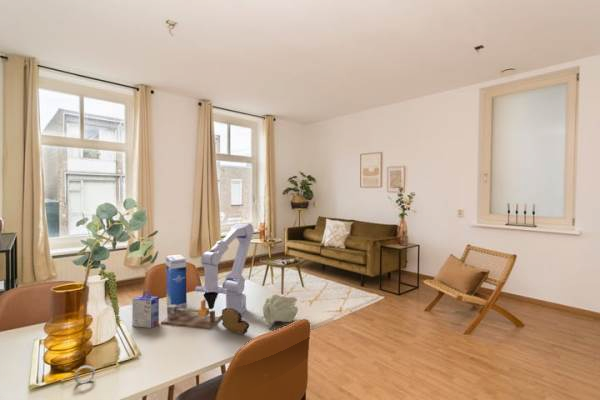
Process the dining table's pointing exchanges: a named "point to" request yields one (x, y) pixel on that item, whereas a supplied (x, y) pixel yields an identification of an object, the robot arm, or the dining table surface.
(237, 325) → the wooden carving
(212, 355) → the dining table surface
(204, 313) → the orange plastic bracket
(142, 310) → the ink cartridge box
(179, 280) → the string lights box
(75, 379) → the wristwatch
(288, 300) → the folded clay sculpture
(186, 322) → the cord rail
